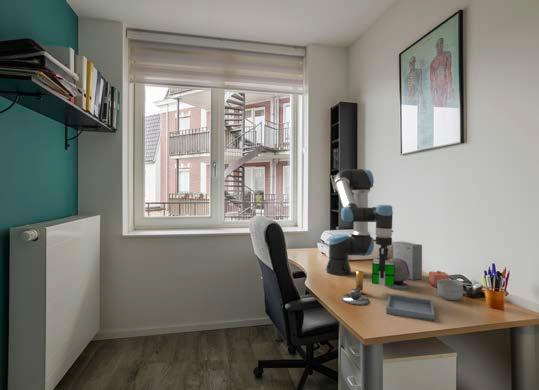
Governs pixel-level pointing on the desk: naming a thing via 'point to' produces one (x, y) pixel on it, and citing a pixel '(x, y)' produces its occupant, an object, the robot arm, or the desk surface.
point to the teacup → (450, 289)
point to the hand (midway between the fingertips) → (382, 281)
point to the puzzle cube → (388, 272)
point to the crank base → (355, 300)
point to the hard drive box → (410, 257)
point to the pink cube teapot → (437, 277)
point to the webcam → (400, 274)
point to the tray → (410, 307)
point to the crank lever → (358, 285)
